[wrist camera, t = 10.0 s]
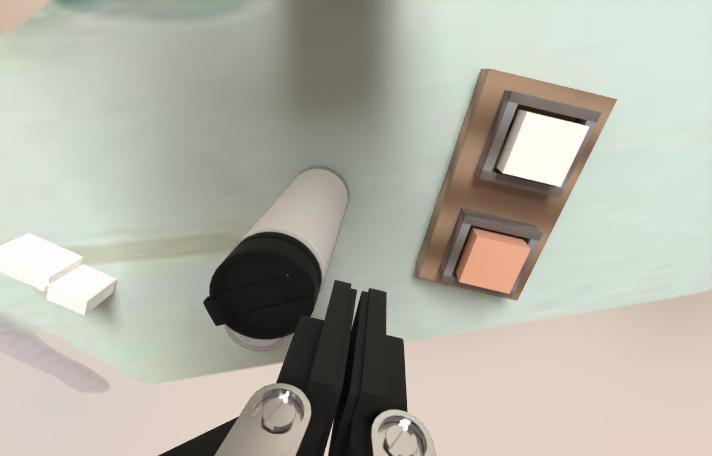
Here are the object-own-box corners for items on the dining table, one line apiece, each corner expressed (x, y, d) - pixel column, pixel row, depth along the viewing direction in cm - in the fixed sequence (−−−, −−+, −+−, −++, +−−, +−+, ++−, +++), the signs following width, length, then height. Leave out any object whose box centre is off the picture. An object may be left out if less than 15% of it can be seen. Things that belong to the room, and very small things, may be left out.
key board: (481, 69, 32) (496, 68, 28) (597, 97, 32) (632, 101, 28) (416, 263, 41) (419, 287, 36) (508, 285, 41) (523, 311, 36)
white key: (518, 109, 29) (527, 111, 27) (577, 123, 29) (589, 126, 27) (496, 167, 31) (502, 173, 29) (550, 180, 31) (560, 186, 29)
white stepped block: (5, 233, 45) (-46, 254, 39) (68, 199, 42) (23, 217, 37) (85, 322, 50) (49, 351, 44) (146, 297, 47) (116, 325, 42)
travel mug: (280, 176, 38) (181, 271, 20) (338, 158, 37) (289, 243, 18) (301, 227, 40) (228, 355, 22) (356, 213, 39) (328, 336, 21)
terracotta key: (472, 227, 34) (477, 236, 32) (523, 239, 34) (530, 249, 32) (455, 271, 36) (458, 282, 34) (503, 282, 36) (509, 293, 34)
